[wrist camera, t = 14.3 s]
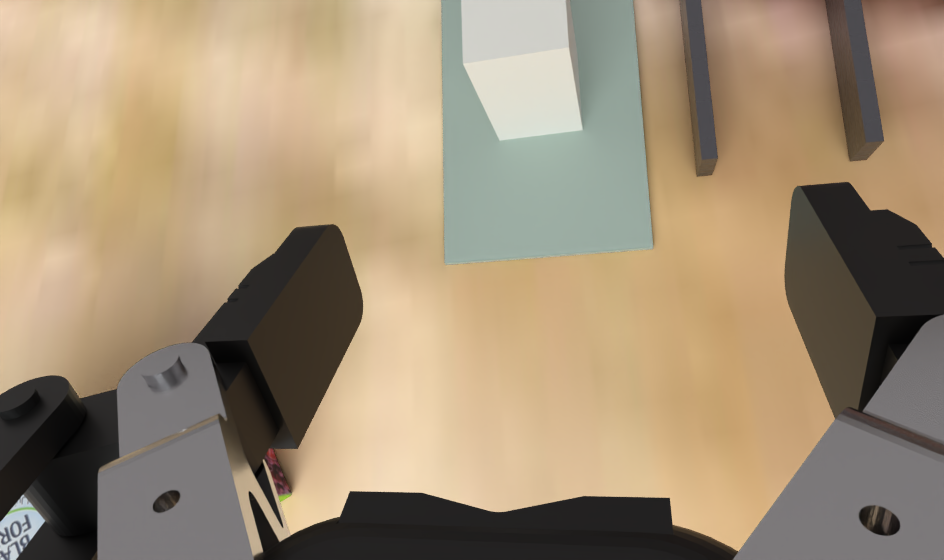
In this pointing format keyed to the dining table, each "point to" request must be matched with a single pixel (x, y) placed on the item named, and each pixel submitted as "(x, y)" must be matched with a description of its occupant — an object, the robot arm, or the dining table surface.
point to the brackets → (849, 69)
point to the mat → (549, 155)
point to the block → (523, 65)
